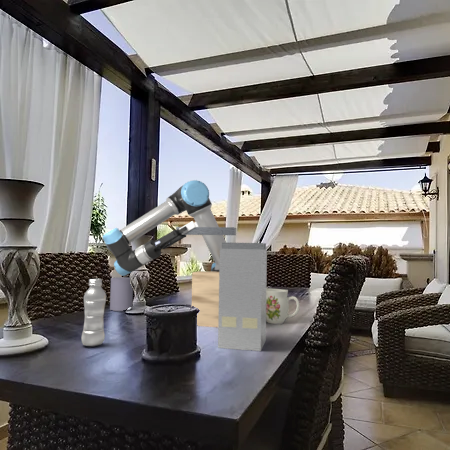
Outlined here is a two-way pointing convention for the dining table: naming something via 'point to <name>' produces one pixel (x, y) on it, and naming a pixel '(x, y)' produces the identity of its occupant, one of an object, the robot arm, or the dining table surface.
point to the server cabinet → (242, 296)
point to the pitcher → (278, 305)
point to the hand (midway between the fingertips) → (195, 224)
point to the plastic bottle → (94, 314)
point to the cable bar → (211, 231)
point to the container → (120, 294)
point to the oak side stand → (206, 297)
